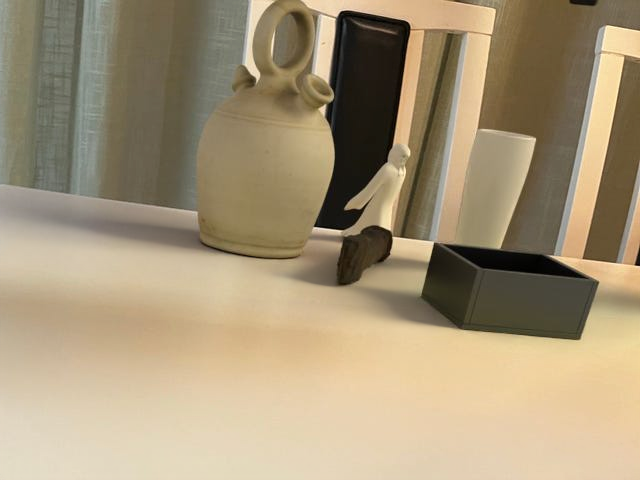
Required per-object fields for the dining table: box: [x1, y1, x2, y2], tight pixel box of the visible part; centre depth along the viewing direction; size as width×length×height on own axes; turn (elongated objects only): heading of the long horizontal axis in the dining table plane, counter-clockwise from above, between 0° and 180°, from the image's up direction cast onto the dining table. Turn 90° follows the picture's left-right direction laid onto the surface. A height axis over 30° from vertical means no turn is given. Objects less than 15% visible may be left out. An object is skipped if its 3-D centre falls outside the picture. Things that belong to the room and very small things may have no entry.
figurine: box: [339, 142, 411, 238], centre depth 127 cm, size 8×8×12 cm
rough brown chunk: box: [335, 225, 394, 284], centre depth 111 cm, size 19×4×5 cm, turn 156°
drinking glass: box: [453, 128, 537, 249], centre depth 118 cm, size 7×7×15 cm
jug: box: [195, 0, 336, 259], centre depth 112 cm, size 15×16×25 cm
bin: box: [420, 241, 600, 341], centre depth 100 cm, size 12×12×6 cm
